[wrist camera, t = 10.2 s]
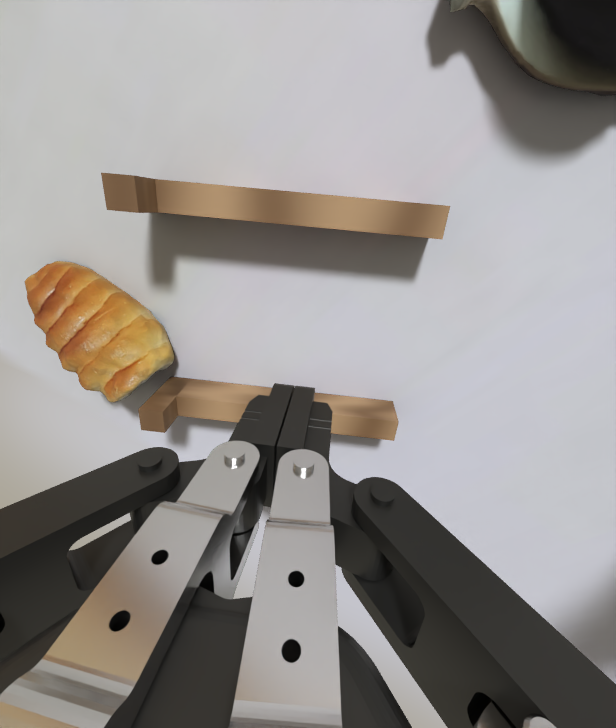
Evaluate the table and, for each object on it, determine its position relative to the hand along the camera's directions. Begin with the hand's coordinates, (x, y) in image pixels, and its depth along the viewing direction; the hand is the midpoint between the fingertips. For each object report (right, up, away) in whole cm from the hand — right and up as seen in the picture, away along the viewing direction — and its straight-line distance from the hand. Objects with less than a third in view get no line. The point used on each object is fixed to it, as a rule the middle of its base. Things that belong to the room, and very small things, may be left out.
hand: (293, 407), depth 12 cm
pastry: (-13, +4, +11) cm, 17 cm away
